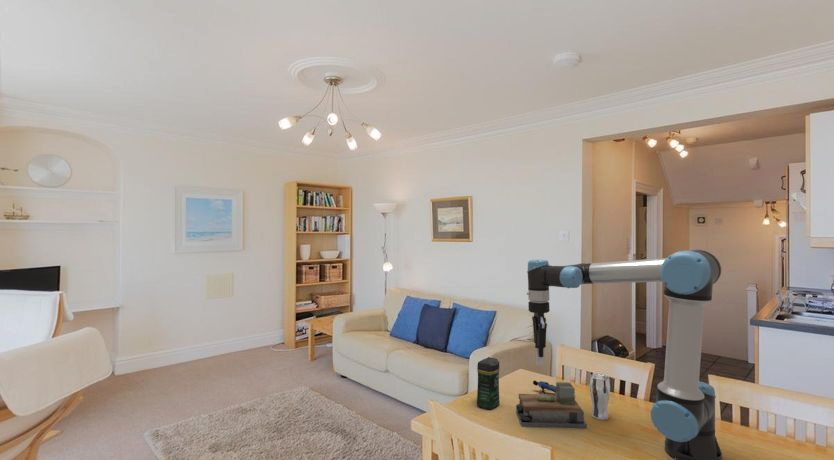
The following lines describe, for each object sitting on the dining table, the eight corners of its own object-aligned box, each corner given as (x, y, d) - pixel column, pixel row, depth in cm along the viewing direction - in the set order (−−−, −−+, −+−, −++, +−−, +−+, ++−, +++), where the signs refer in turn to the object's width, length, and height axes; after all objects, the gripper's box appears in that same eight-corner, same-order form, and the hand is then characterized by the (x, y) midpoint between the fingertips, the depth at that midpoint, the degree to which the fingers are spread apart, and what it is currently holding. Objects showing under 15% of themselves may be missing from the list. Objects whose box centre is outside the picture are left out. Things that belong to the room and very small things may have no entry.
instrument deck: (581, 412, 150) (581, 391, 150) (524, 410, 151) (524, 390, 151) (571, 399, 162) (571, 379, 162) (518, 397, 163) (518, 378, 163)
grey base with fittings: (587, 428, 149) (587, 413, 149) (521, 426, 151) (521, 411, 151) (576, 413, 162) (576, 399, 162) (515, 411, 163) (515, 397, 163)
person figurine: (577, 399, 180) (535, 385, 190) (578, 389, 180) (537, 375, 189) (571, 408, 171) (528, 393, 180) (572, 397, 170) (529, 382, 180)
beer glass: (589, 418, 158) (589, 378, 158) (590, 411, 164) (590, 372, 164) (609, 422, 154) (609, 381, 154) (610, 414, 161) (610, 375, 160)
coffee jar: (492, 411, 164) (492, 364, 164) (474, 406, 168) (474, 360, 168) (502, 403, 172) (502, 357, 172) (484, 398, 176) (484, 354, 176)
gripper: (525, 298, 163) (526, 359, 163) (532, 304, 150) (533, 370, 150) (544, 298, 163) (546, 359, 162) (553, 303, 150) (555, 370, 149)
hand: (540, 364), depth 156 cm, fingers closed
